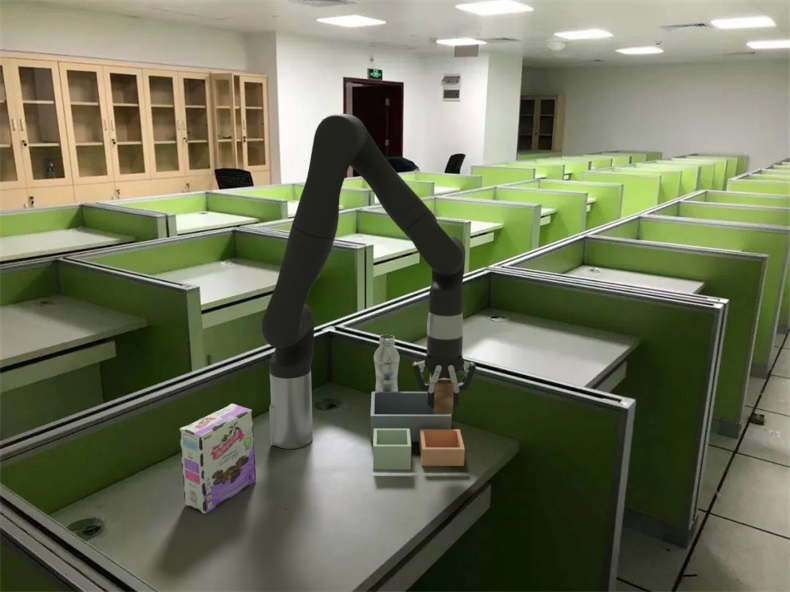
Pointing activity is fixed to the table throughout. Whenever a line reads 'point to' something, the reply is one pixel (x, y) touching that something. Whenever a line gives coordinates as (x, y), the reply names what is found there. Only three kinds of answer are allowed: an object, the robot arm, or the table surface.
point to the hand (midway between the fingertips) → (442, 406)
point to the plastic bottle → (386, 365)
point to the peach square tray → (441, 447)
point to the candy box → (217, 457)
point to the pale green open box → (391, 449)
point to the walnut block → (443, 396)
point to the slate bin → (405, 413)
